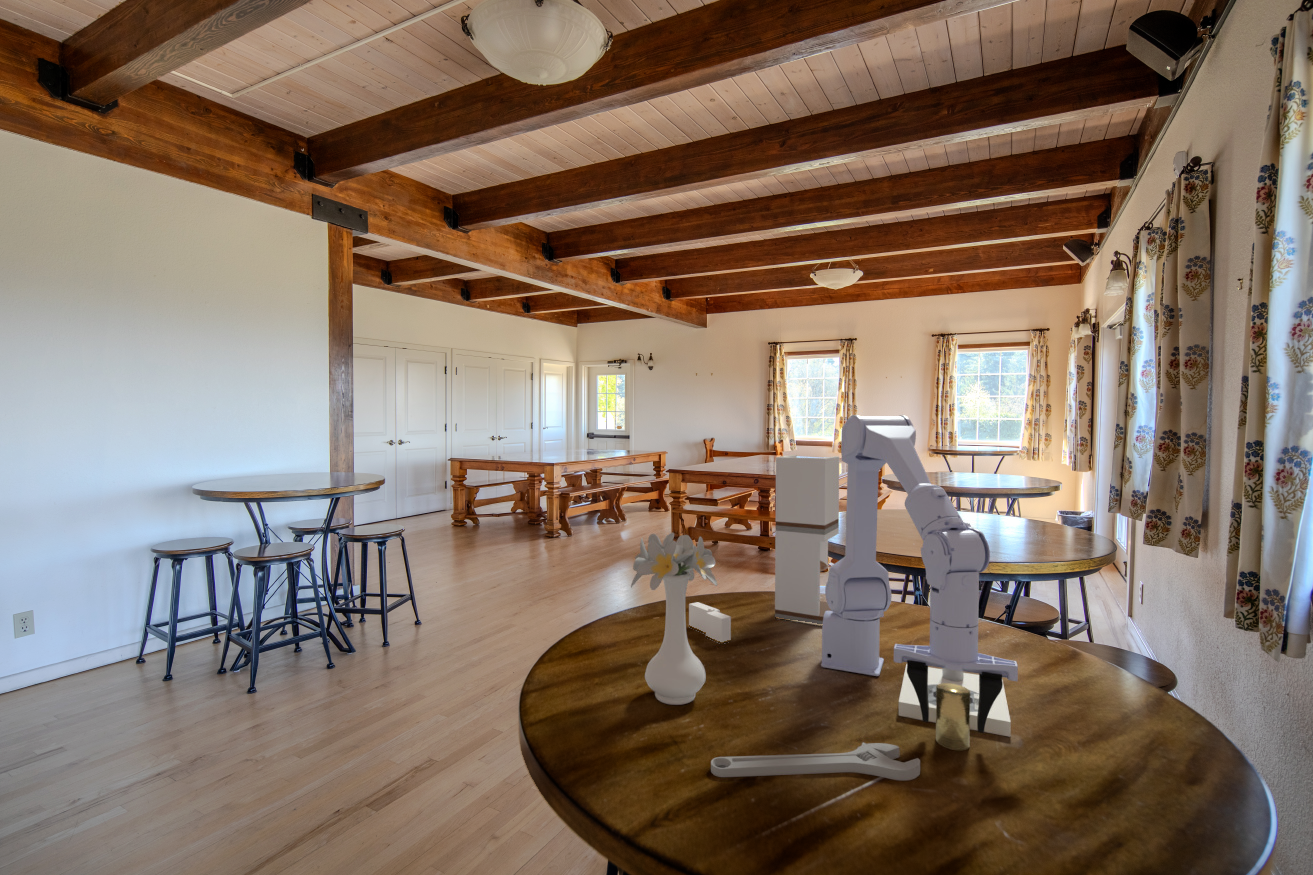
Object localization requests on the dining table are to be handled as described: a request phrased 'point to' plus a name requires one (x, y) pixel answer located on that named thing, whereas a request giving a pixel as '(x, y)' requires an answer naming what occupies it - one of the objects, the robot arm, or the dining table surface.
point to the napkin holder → (710, 621)
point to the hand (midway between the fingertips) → (952, 723)
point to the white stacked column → (804, 533)
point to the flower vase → (674, 614)
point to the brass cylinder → (953, 716)
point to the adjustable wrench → (822, 763)
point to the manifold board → (998, 713)
